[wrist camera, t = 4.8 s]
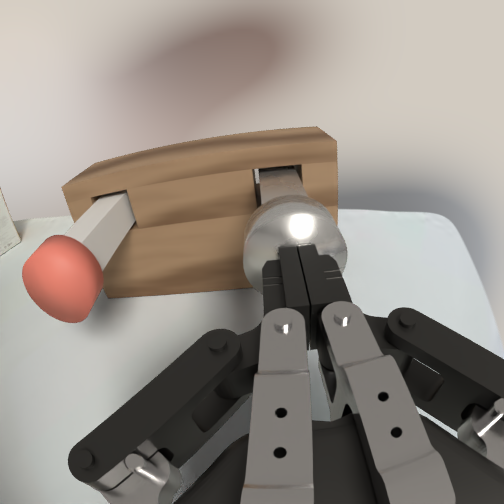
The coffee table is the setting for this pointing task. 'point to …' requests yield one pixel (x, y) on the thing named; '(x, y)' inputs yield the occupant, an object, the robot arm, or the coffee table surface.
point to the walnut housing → (198, 206)
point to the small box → (7, 228)
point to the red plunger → (78, 259)
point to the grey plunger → (287, 223)
